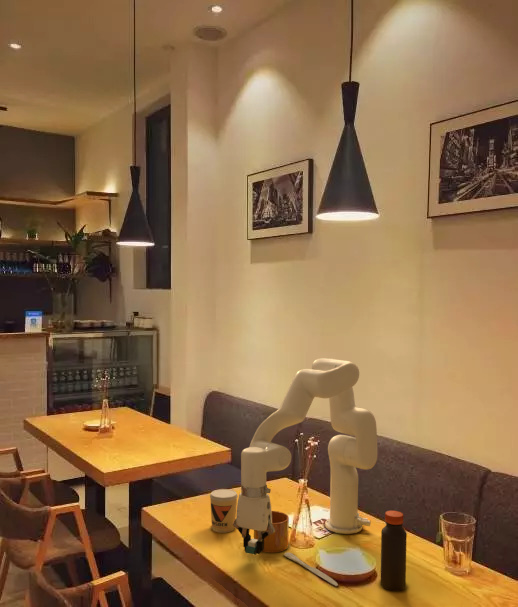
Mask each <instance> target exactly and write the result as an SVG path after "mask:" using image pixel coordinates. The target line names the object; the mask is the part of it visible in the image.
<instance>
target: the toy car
mask: <svg viewBox="0 0 518 607" xmlns="http://www.w3.org/2000/svg"><path fill="white" fill-rule="evenodd" d="M244 553H245V554H250V555H253V556H256V555H258V554H257V539H254V538H251V540H250V541H249V542H248V546H247V547H246V550H245V551H244Z"/></svg>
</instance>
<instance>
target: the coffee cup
mask: <svg viewBox="0 0 518 607" xmlns="http://www.w3.org/2000/svg"><path fill="white" fill-rule="evenodd" d="M238 497H239V495H238V493H237V491H235V490H234V489H228V488H219V489H215V490H212V491H211V493H210V495H209V499H210V517H211V518H210V519H211V520H210V521H211V529H212V531H213V532H215V533H221V534H223V533H225V534H226V533H230V532H233V531H234V530H235V529H236V528H235V527H234V526H233V523H234V521H235V520H236V514H237V504H238Z"/></svg>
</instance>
